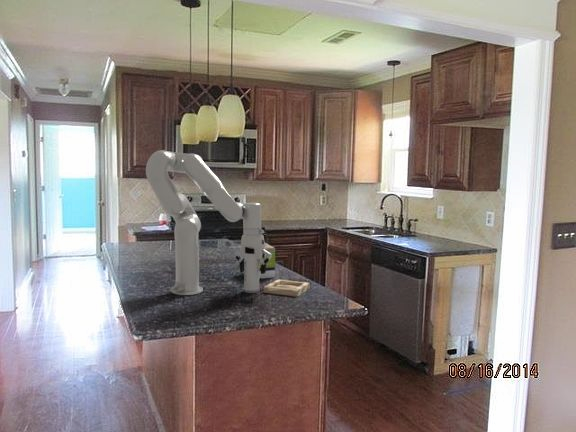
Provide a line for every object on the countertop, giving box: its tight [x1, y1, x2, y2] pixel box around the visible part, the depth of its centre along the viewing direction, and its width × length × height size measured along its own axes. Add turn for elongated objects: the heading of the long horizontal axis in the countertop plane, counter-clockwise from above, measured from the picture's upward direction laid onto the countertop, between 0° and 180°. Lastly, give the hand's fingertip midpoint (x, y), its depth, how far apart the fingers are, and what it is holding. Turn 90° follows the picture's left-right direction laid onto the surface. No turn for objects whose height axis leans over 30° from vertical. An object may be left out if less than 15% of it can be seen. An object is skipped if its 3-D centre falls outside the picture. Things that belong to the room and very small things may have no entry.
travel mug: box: [243, 247, 260, 294], centre depth 199 cm, size 6×7×20 cm
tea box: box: [259, 242, 276, 280], centre depth 231 cm, size 15×10×15 cm, turn 21°
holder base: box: [263, 278, 311, 297], centre depth 202 cm, size 15×15×2 cm
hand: (252, 272), depth 199 cm, fingers open, 9 cm apart
